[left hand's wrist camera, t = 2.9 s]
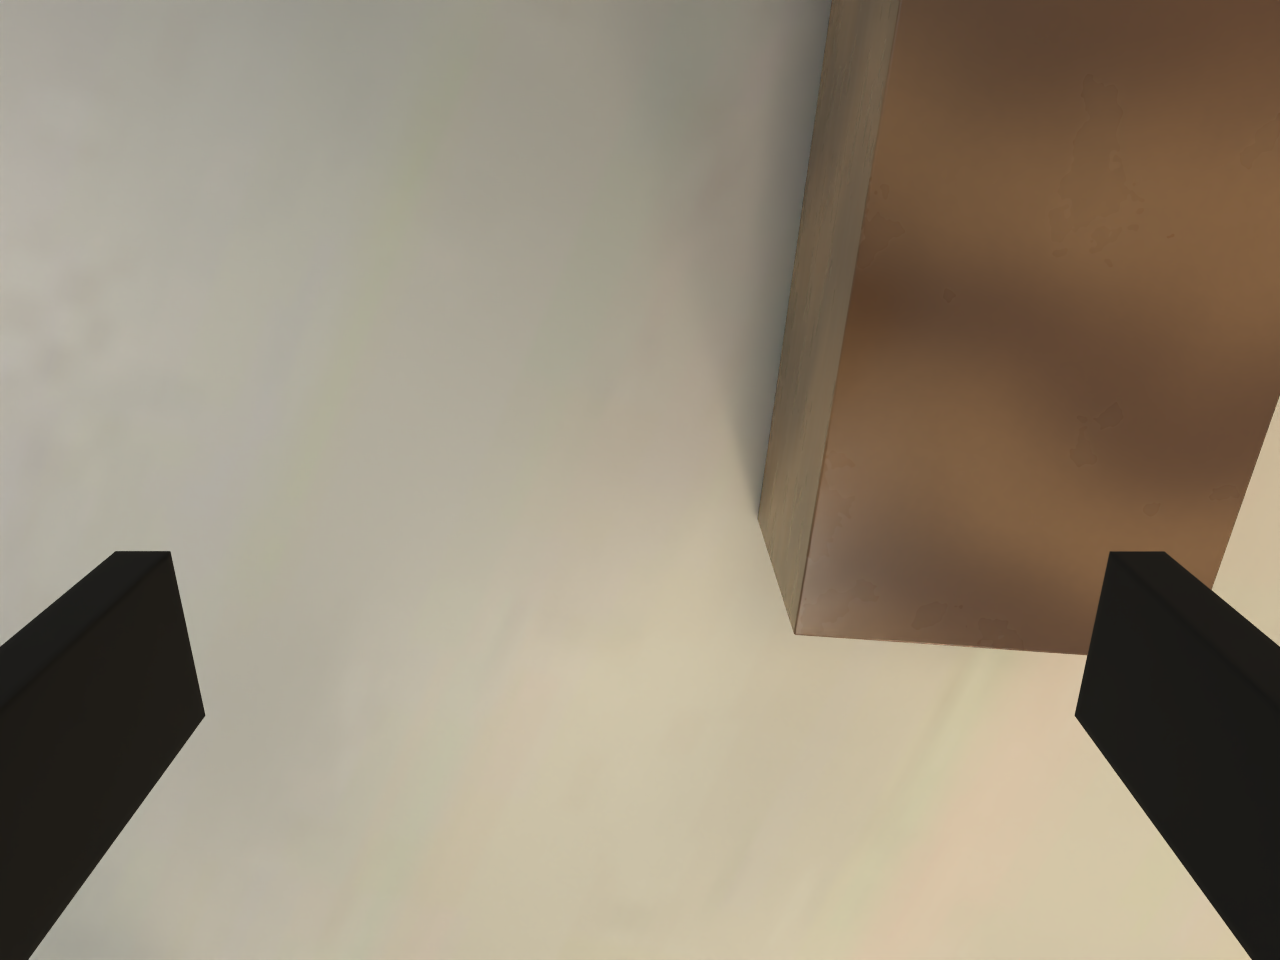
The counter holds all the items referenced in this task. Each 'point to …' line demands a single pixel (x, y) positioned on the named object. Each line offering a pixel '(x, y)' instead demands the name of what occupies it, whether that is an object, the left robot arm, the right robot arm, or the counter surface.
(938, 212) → the wide beam
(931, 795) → the counter surface
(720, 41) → the counter surface
